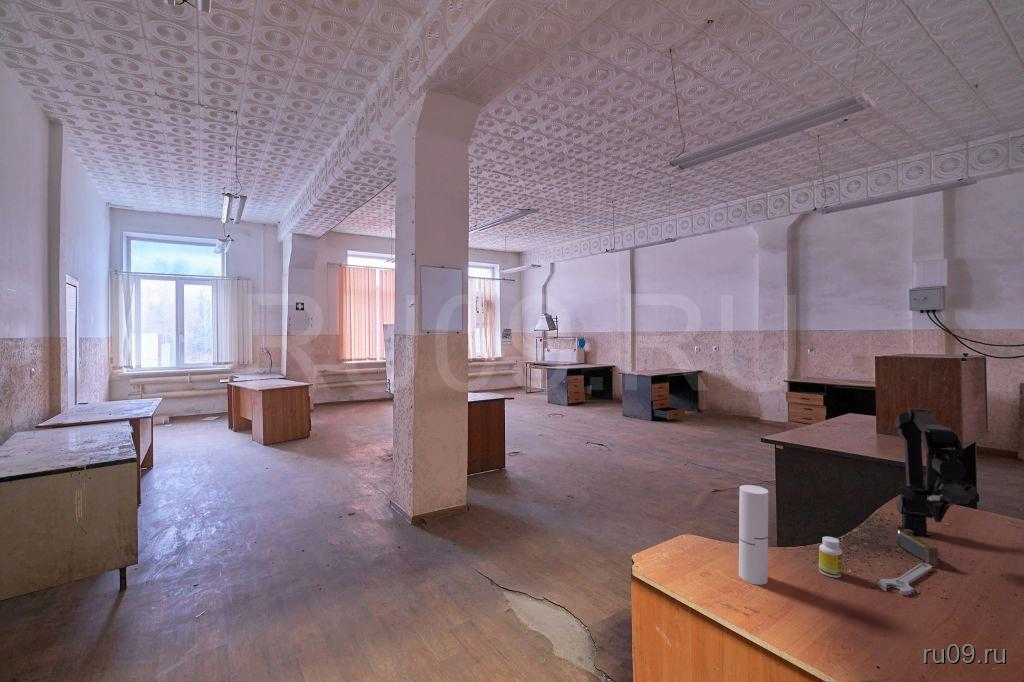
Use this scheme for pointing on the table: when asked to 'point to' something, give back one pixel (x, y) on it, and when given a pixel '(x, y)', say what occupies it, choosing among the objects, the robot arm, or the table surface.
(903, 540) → the gate panel
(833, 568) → the supplement bottle
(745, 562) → the cylindrical container
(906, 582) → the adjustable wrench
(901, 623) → the table surface
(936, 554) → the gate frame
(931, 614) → the table surface
